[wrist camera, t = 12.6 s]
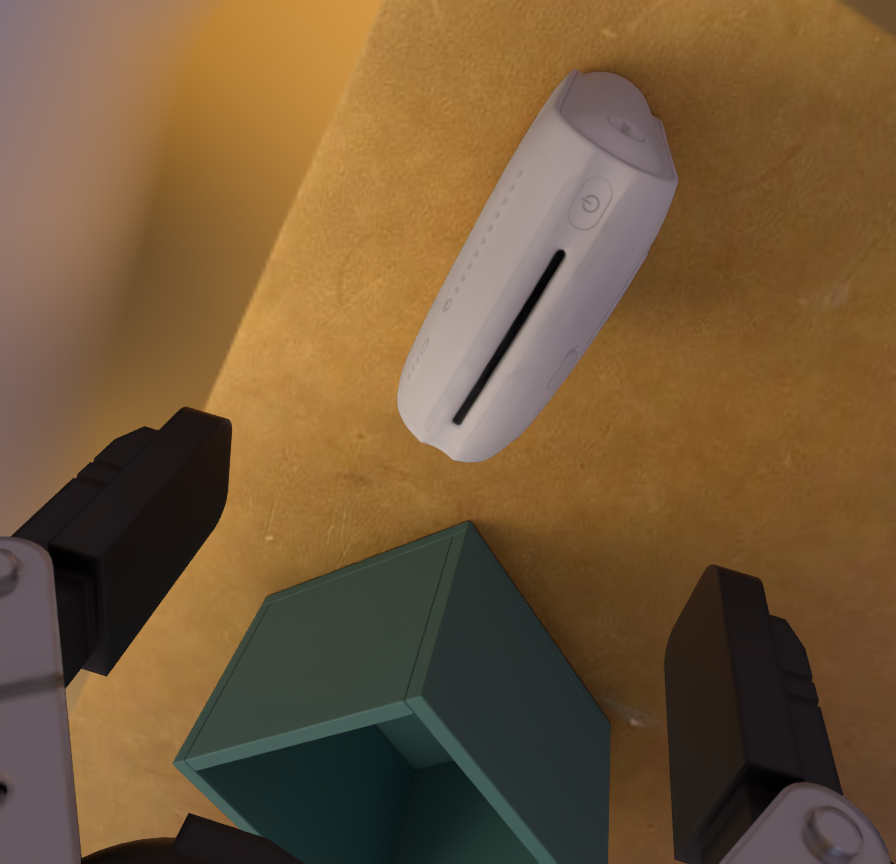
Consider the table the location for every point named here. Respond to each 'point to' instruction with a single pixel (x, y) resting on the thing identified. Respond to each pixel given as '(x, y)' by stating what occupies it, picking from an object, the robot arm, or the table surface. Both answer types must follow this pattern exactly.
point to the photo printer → (540, 267)
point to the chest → (407, 720)
